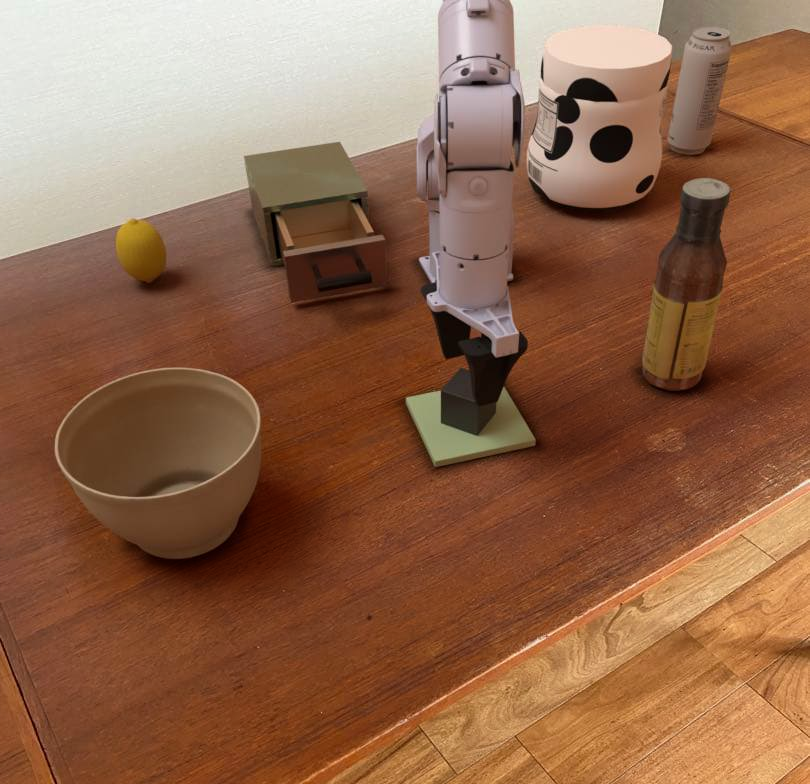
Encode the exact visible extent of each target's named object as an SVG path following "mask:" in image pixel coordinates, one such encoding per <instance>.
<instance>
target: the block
mask: <svg viewBox="0 0 810 784" xmlns="http://www.w3.org/2000/svg"><path fill="white" fill-rule="evenodd" d="M440 391H441V423H442V424H445V425H447V426H450V427H453V428H456V429H459V430H462V431H464V432H467V433H470V434H473V435H476V436H478V434H479V433H480V432H481V431H482V429H483V428H484V427H485V426H486V424H487V423H488V422H489V421H490V419H491V418H492V417H493V416H494V414H495V413H496V403H497V402H495V403H491V404H487V405H483V406H477V404H476V403H475V401H474V398H473V394H472V385H471V376H470V371H469V369H466V368H463V367H460V368H459V369H458V370H457V371H456V372H455V374H454V375H453V376H452V377H451V378H450V379H449V380H448V381H447V382H446V384H444V386H443V387H442V388H441V390H440Z"/></svg>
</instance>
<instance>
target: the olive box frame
mask: <svg viewBox="0 0 810 784" xmlns="http://www.w3.org/2000/svg"><path fill="white" fill-rule="evenodd" d="M243 160H244V166H245V167H244V168H245V172H246V173H245V174H246V180H247V185H248V190H249V196H250V203H251V208H252V214H253V217H254V219H255V222H256V225H257V228H258V231H259V234H260V236H261V239H262V242H263V245H264V247H265V251H266V254H267V256H268V259H269V263H270V265H271V267H278V266H285V265H284V262H283V260H282V257H281V254H280V252H279V249H278V246H277V243H276V237H275V231H274V224H273V218H272V212H278V211H284V210H290V209H296V208H303V207H309V206H315V205H321V204H327V203H334V202H340V201H346V200H352V199H356V200H357V201H358V203H359V205H360V207H361V209H362V211H363V213H364V215H365V216H366V218H367V220H368V222H369V224H370V225H371V223H370V209H369V208H370V207H369V192H368V189H367V187H366V185H365V184H364V182H363V180H362V178H361V177H360V174H359V173H358V171H357V169H356V168H355V165H354V164H353V162H352V160H351V159H350V157H349V155H348V153H347V152H346V150H345V148H344V146H343V144H342V143H341V141H336V142H335V141H334V142H329V143H321V144H315V145H308V146H301V147H296V148H288V149H280V150H275V151H274V150H273V151H267V152H261V153H255V154H247V155H243Z"/></svg>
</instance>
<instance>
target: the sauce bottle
mask: <svg viewBox="0 0 810 784" xmlns="http://www.w3.org/2000/svg"><path fill="white" fill-rule="evenodd" d="M730 195H731V187H730V186H729V184H727V183H726V182H723V181H722V180H718V179H716V178H711V177H700V178H694V179H691V180H689V181H687V182H685V183H684V184H683V185H682V188H681V193H680V198H679V203H680V210H679V211H680V212H679V217H678V223H677V225H676V227H675V233H674V235H673V236H672V237H671V238H670V240H669V241H668V242H667V244H665V246H664V247H663V248H662V249H661V251H660V253H659V255H658V263H657V271H656V276H655V280H654V283H653V290H652V296H651V301H650V308H649V315H648V322H647V327H646V333H645V340H644V345H643V351H642V356H641V357H642V359H641V361H642V364H641V368H642V373H643V376H644V379H645V380H646V381H647V383H648V384H649V385H652V386H654V387H656V388H658V389H662V390H665V391H669V392H679V391H686V390H690V389H691V388H694V387H695V386H697V384H698V383H699V382H700V380H701V379H702V376H703V373H704V370H705V367H706V365H707V361H708V356H709V352H710V351H709V350H710V347H711V343H712V338H713V333H714V328H715V325H716V319H717V315H718V310H719V306H720V301H721V297H722V293H723V286H724V285H723V283H724V276H725V273H726V268H727V265H728V260H727V257H726V254H725V250H724V247H723V244H722V239H721V233H722V229H721V228H722V223H723V219H724V215H725V210H726V208H727V207H728V205H729V203H730V198H731V197H730Z"/></svg>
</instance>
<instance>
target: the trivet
mask: <svg viewBox="0 0 810 784" xmlns="http://www.w3.org/2000/svg"><path fill="white" fill-rule="evenodd" d="M405 405H406V407H407V409H408V412H409V413H410V416H411V419H412V420H413V423H414V425H415V426H416V428H417V431H418V433H419V435H420V438H421V439H422V442H423V444H424V446H425V448H426V451H427V453H428V456H429V457H430V459H431V461H432V463H433V466H434V467H435V468H440V467H444V466H448V465H453V464H458V463H463V462H466V461H471V460H475V459H476V460H477V459H480V458H484V457H489V456H495V455H499V454H503V453H508V452H513V451H518V450H522V449H526V448H531V447H535V446H536V442H537V439H536V438H535V436H534V434H533V432H532V430H531V429H530V427H529V426H528V424H527V422H526V421H525V419H524V418H523V415H522V414H521V412H520V411H519V409H518V407H517V405H516V404H515V402H514V401H513V399H512V397H511V396H510V394H509V393H508V390H507V389H506V387H505V386H504V387H503V390H502V392H501V395H500V397H499V400H498V402H497V403H496V413H495V414H494V416H493V417H492V418H491V419H490V421H489V422H488V423H487V424H486V426H485V427H484V428H483V429H482V431H481V432H480V433H479V434H478V436H476V435H473V434H470V433H467V432H464V431H462V430H459V429H456V428H453V427H450V426H447V425H445V424H442V423H441V390H437V391H432V392H431V391H430V392H427V393H426V392H425V393H421V394H417V395H411V396H406V397H405Z"/></svg>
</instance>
